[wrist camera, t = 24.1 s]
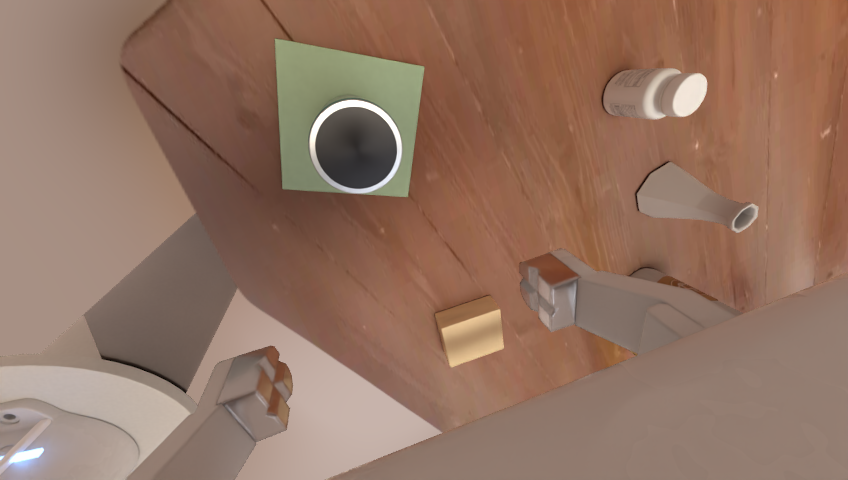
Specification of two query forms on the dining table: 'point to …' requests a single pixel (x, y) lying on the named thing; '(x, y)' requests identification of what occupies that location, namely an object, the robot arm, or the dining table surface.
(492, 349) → the plate
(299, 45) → the mat
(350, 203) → the dining table surface
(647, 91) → the pill bottle
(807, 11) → the dining table surface
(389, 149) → the tumbler
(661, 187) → the flask
